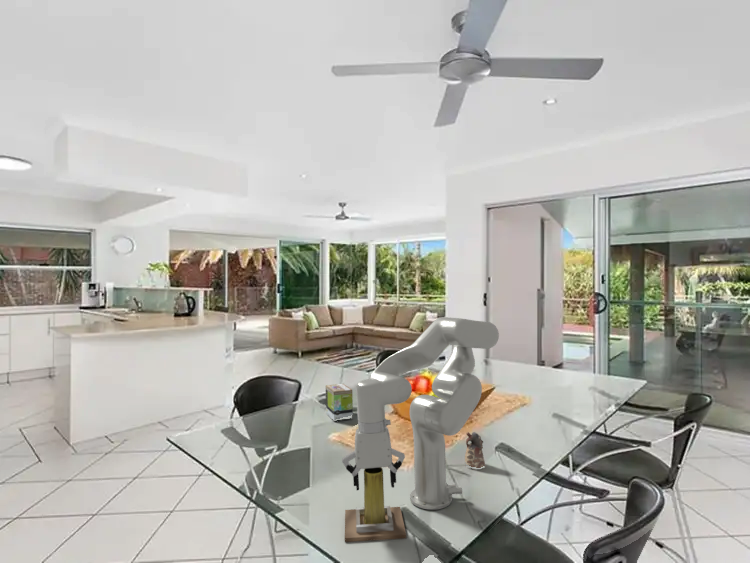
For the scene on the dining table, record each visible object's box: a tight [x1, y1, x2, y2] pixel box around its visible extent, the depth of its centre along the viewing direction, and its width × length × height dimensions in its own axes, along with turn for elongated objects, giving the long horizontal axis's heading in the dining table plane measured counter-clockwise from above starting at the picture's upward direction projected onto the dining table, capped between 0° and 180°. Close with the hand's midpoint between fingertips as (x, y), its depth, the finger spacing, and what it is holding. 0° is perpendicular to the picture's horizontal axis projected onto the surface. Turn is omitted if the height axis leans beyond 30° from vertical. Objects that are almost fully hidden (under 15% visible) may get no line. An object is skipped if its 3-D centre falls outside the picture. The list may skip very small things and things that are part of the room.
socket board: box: [344, 505, 407, 543], centre depth 121 cm, size 16×14×2 cm
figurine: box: [464, 431, 486, 468], centre depth 157 cm, size 7×7×12 cm
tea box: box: [325, 383, 354, 421], centre depth 218 cm, size 15×10×15 cm
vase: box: [363, 467, 386, 524], centre depth 121 cm, size 6×6×14 cm
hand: (375, 486), depth 121 cm, fingers open, 9 cm apart
